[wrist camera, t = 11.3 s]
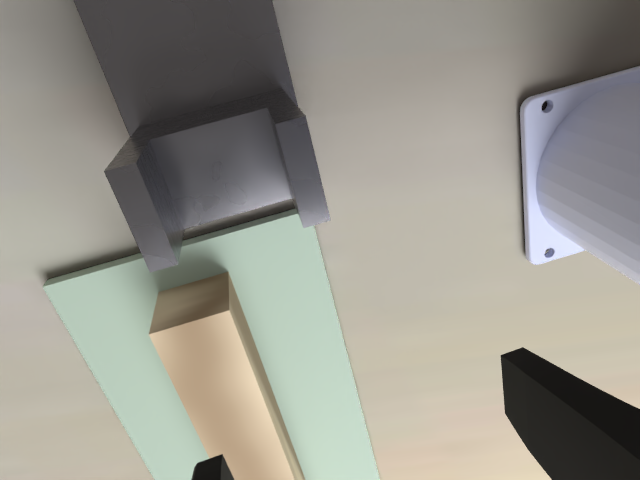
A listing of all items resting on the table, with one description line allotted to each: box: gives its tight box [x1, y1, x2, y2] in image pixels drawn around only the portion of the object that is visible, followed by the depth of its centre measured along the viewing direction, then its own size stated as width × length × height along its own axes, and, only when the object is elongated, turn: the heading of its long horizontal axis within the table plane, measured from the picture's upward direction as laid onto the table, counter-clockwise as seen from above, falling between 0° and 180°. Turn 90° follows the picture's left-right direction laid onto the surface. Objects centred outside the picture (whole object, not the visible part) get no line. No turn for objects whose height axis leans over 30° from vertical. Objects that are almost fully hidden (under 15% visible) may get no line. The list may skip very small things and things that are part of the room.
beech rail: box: [149, 272, 305, 480], centre depth 22 cm, size 3×16×3 cm, turn 13°
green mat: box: [43, 209, 380, 480], centre depth 24 cm, size 11×20×1 cm, turn 13°
